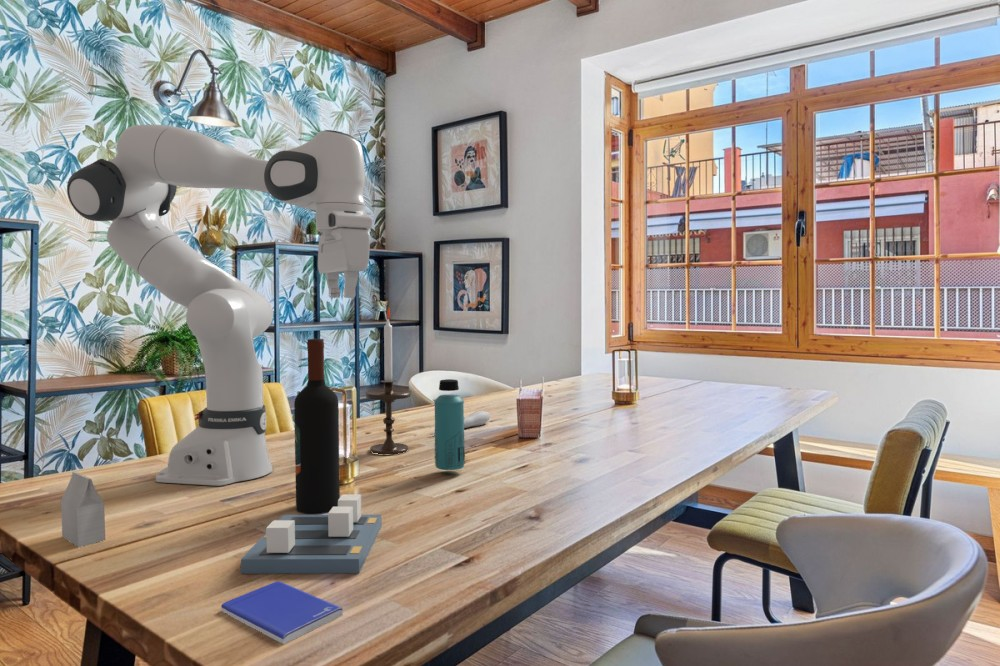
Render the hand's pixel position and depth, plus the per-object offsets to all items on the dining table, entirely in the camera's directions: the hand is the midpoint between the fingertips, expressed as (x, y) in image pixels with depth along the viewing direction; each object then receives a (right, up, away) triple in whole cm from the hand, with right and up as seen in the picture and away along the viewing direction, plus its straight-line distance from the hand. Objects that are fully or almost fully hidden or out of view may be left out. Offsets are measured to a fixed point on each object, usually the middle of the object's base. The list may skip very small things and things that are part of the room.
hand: (341, 297), depth 121 cm
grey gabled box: (-35, -39, -19) cm, 56 cm away
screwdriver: (+18, -34, +64) cm, 74 cm away
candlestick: (+2, -35, +38) cm, 52 cm away
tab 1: (-2, -37, -29) cm, 47 cm away
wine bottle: (-3, -38, -4) cm, 38 cm away
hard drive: (+3, -41, -42) cm, 59 cm away
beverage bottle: (+18, -36, +19) cm, 45 cm away
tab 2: (+5, -36, -17) cm, 40 cm away
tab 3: (+5, -36, -23) cm, 43 cm away
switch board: (+2, -39, -22) cm, 45 cm away
